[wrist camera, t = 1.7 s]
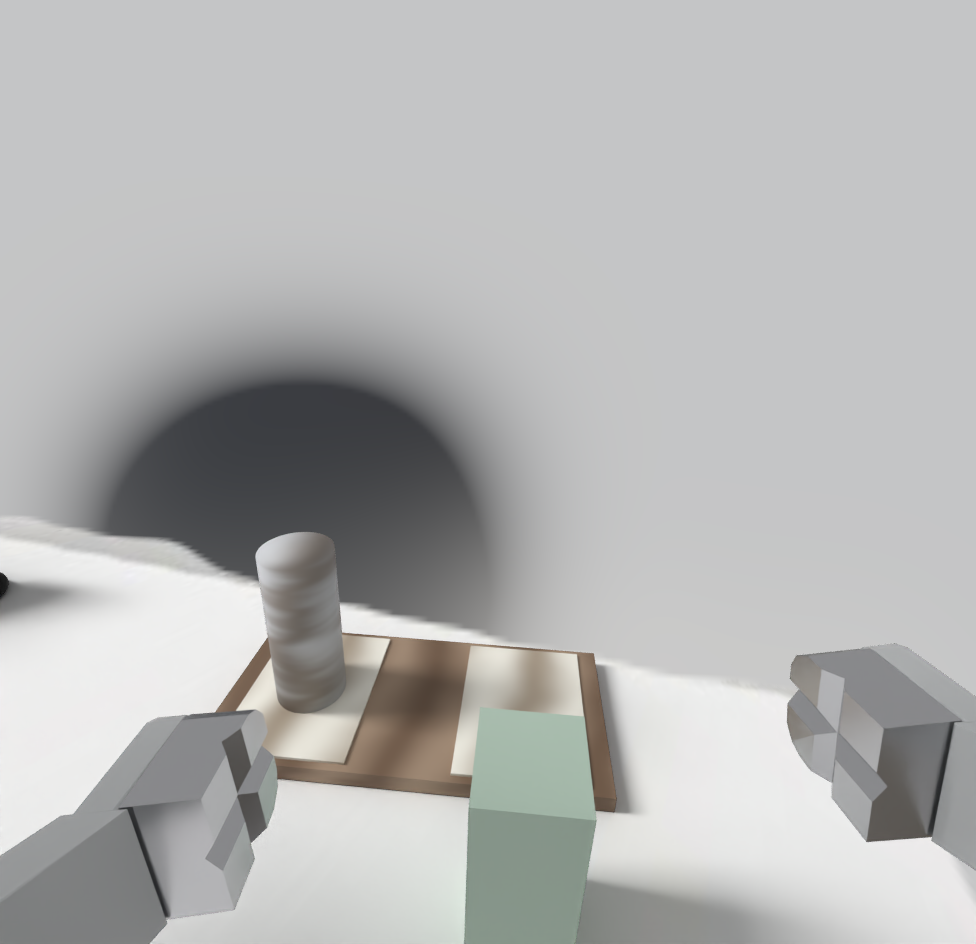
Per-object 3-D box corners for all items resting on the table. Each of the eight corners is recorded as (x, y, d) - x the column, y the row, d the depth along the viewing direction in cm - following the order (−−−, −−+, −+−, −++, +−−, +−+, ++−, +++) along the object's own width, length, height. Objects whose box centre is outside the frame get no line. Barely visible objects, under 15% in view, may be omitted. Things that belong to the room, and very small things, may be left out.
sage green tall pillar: (463, 977, 25) (468, 807, 21) (473, 865, 30) (480, 707, 25) (567, 989, 25) (596, 820, 20) (561, 875, 29) (584, 716, 25)
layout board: (187, 769, 35) (144, 601, 29) (276, 638, 47) (256, 502, 41) (614, 811, 33) (646, 641, 28) (592, 664, 45) (611, 527, 40)
